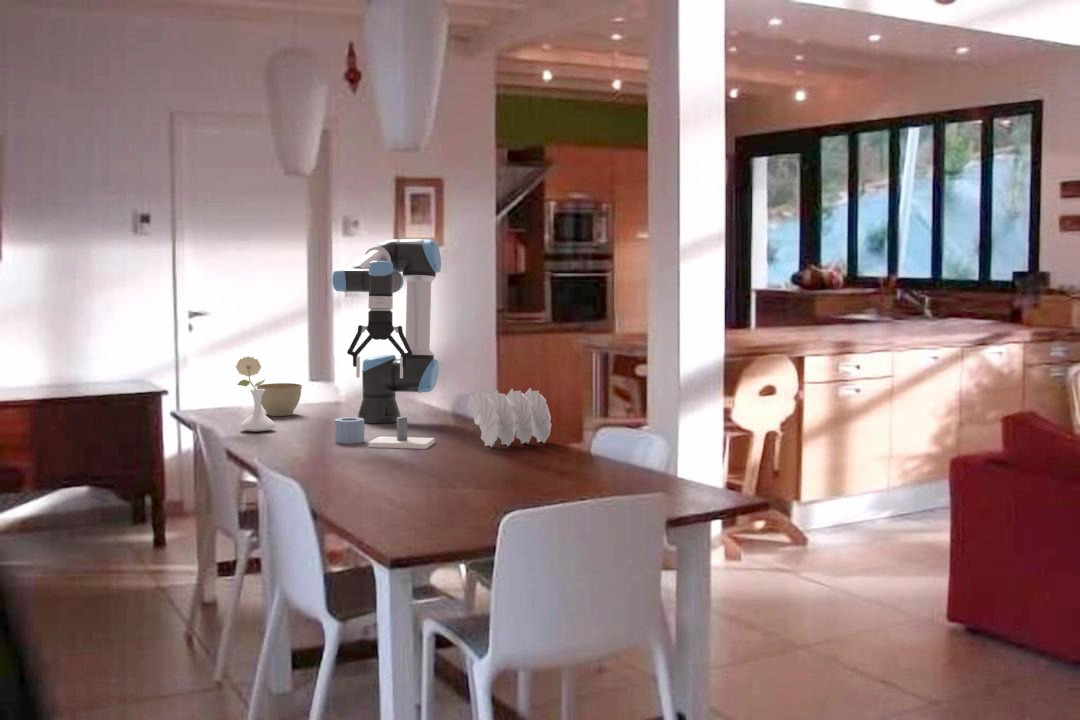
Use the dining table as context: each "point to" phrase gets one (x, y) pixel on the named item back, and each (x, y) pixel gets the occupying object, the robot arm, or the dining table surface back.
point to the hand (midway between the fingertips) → (379, 377)
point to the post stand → (402, 439)
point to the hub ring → (349, 430)
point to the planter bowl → (280, 398)
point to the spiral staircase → (511, 416)
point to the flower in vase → (257, 418)
